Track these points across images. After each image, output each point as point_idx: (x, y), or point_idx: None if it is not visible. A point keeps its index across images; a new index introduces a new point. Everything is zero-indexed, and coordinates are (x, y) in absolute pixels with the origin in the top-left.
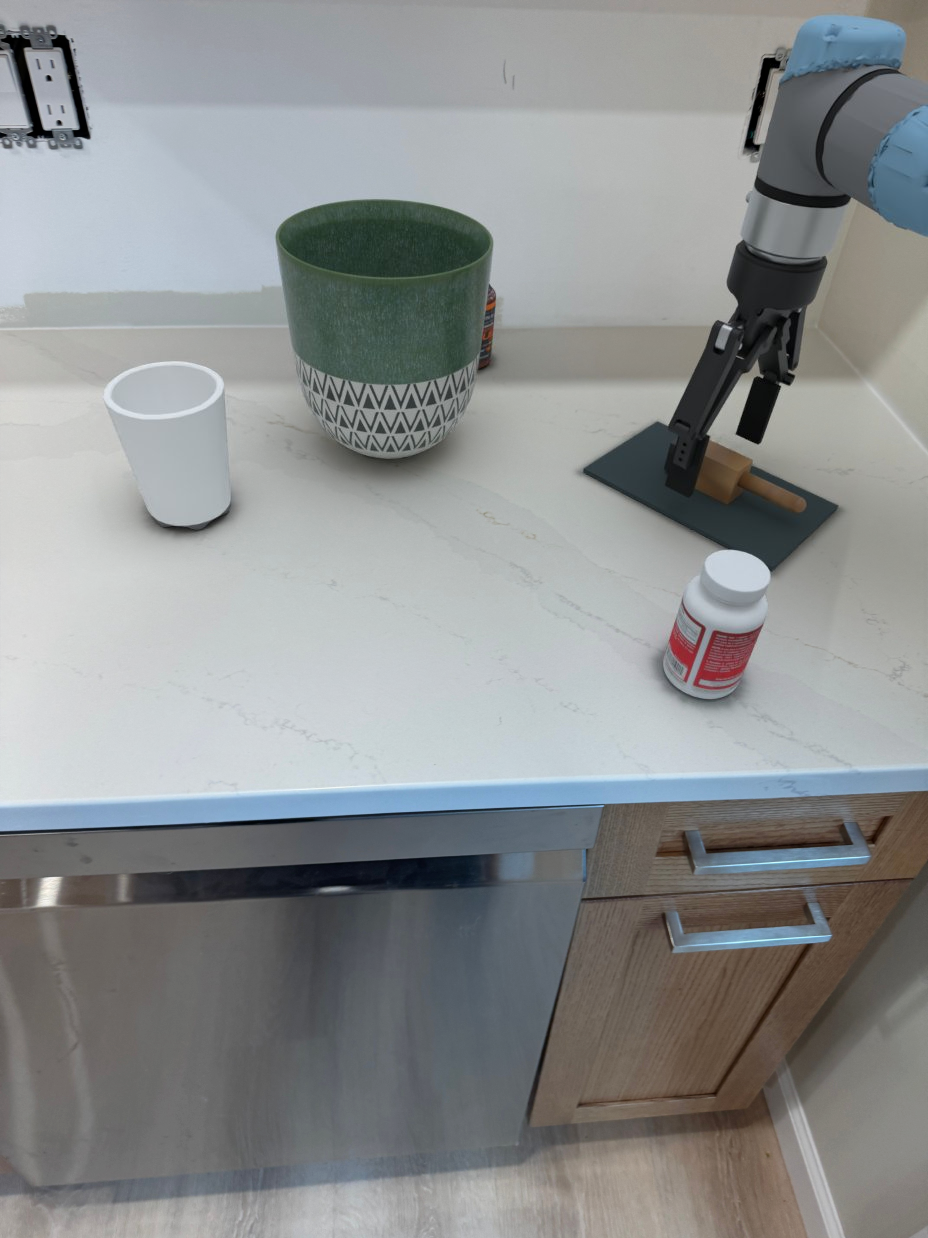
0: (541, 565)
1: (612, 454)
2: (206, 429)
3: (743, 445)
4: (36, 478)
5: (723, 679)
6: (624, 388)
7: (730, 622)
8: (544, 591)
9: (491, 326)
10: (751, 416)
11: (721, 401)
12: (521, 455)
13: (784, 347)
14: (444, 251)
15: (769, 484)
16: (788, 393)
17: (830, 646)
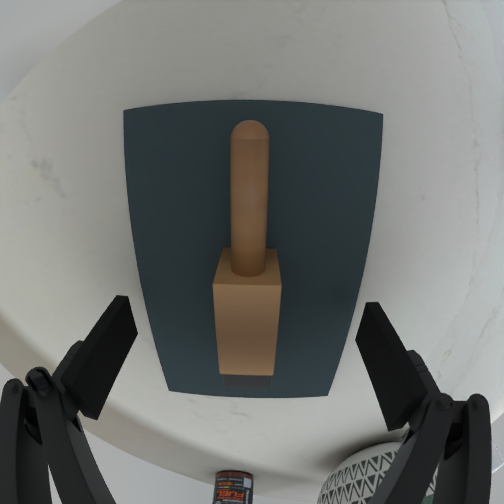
0: (478, 323)
1: (278, 394)
2: (492, 460)
3: (105, 301)
4: None
5: None
6: (147, 419)
7: None
8: (501, 300)
9: (226, 498)
10: (117, 349)
11: (429, 471)
12: (334, 423)
13: (66, 502)
14: None
15: (250, 216)
16: (4, 302)
17: (441, 21)
